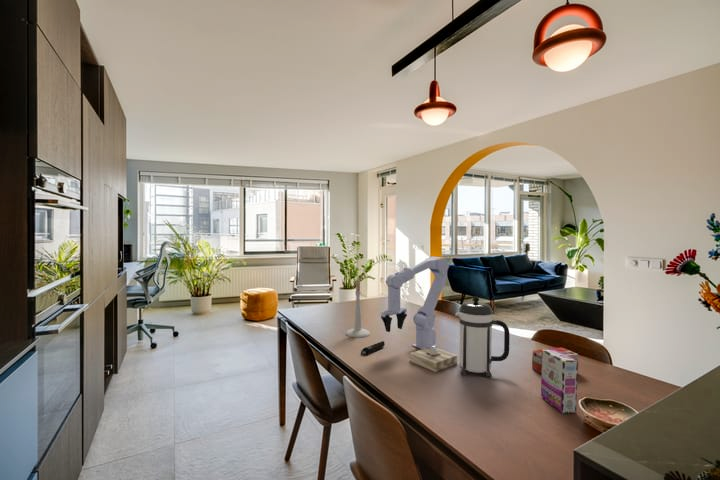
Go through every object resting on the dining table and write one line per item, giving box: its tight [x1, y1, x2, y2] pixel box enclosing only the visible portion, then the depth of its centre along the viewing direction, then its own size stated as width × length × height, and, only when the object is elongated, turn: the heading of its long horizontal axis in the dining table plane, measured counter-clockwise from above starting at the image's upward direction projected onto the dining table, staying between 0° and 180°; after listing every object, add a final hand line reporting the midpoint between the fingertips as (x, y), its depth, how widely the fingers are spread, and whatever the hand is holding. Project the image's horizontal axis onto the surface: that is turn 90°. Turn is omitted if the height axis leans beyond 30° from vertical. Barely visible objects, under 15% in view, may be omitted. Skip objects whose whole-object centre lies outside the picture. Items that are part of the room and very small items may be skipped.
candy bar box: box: [540, 348, 579, 414], centre depth 111 cm, size 11×5×16 cm, turn 5°
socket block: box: [409, 347, 458, 373], centre depth 146 cm, size 14×14×4 cm
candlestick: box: [345, 278, 371, 339], centre depth 185 cm, size 13×13×30 cm
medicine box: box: [531, 347, 579, 374], centre depth 138 cm, size 15×8×8 cm, turn 105°
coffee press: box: [455, 296, 510, 379], centre depth 137 cm, size 17×16×30 cm
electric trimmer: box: [360, 340, 385, 356], centre depth 161 cm, size 4×16×3 cm, turn 140°
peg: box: [429, 344, 438, 357], centre depth 146 cm, size 3×3×7 cm
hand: (393, 330), depth 159 cm, fingers open, 7 cm apart
